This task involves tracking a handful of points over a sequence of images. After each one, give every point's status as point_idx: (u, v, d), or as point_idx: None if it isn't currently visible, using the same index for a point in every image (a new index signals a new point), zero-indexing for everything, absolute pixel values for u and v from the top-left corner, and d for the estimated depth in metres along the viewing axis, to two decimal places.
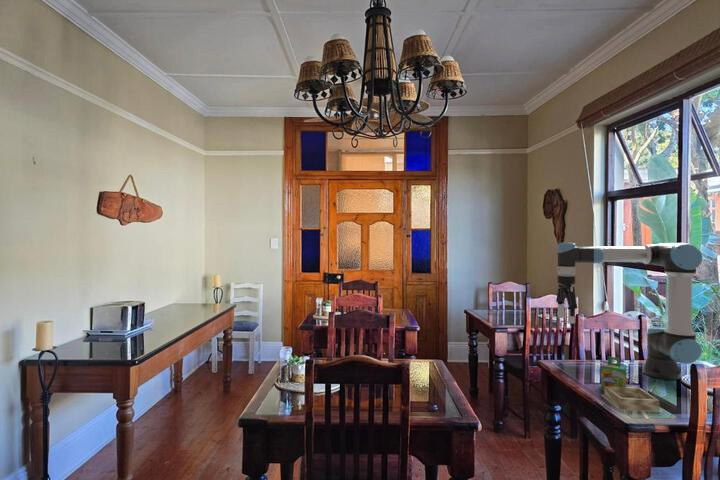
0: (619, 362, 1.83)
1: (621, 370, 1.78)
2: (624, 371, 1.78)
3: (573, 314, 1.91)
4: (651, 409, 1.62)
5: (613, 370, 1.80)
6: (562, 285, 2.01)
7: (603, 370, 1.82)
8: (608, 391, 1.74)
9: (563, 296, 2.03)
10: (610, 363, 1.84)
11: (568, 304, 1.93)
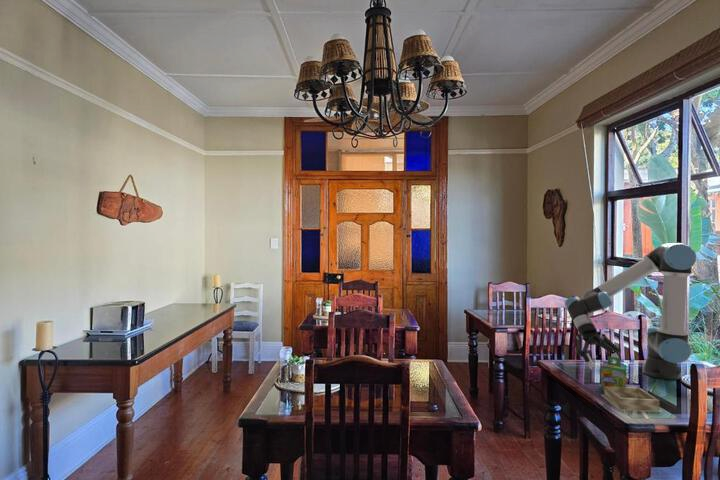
0: (619, 362, 1.83)
1: (621, 370, 1.78)
2: (624, 371, 1.78)
3: (585, 359, 1.88)
4: (651, 409, 1.62)
5: (613, 370, 1.80)
6: None
7: (603, 370, 1.82)
8: (608, 391, 1.74)
9: (603, 345, 1.94)
10: (610, 363, 1.84)
11: None
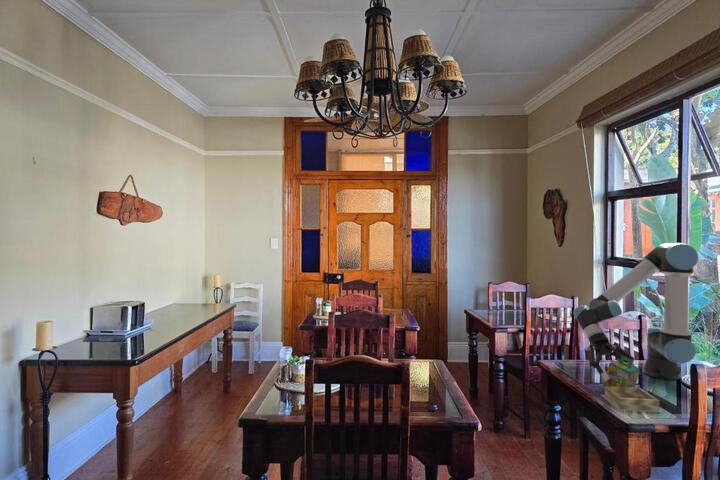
0: (630, 364, 1.80)
1: (626, 371, 1.77)
2: (629, 373, 1.76)
3: (599, 370, 1.83)
4: (651, 409, 1.62)
5: (618, 369, 1.79)
6: None
7: (610, 367, 1.82)
8: (608, 391, 1.74)
9: (616, 355, 1.89)
10: (621, 362, 1.82)
11: None
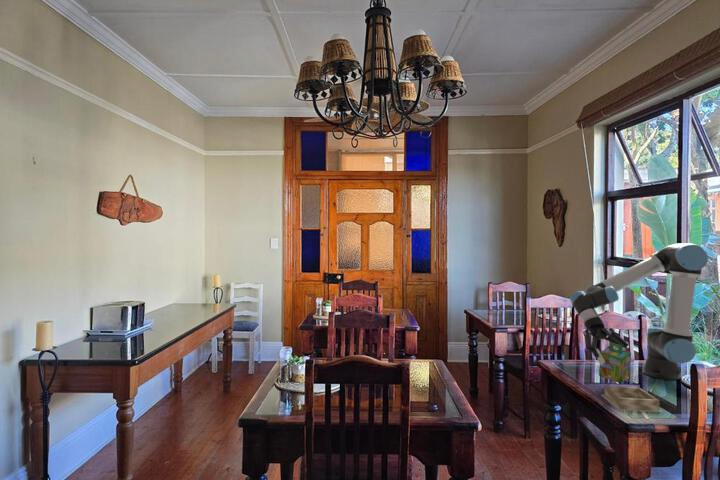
0: (620, 349, 1.80)
1: (618, 358, 1.77)
2: (620, 360, 1.76)
3: (595, 354, 1.83)
4: (651, 409, 1.62)
5: (610, 357, 1.79)
6: None
7: None
8: (608, 391, 1.74)
9: (611, 340, 1.89)
10: (612, 349, 1.83)
11: None
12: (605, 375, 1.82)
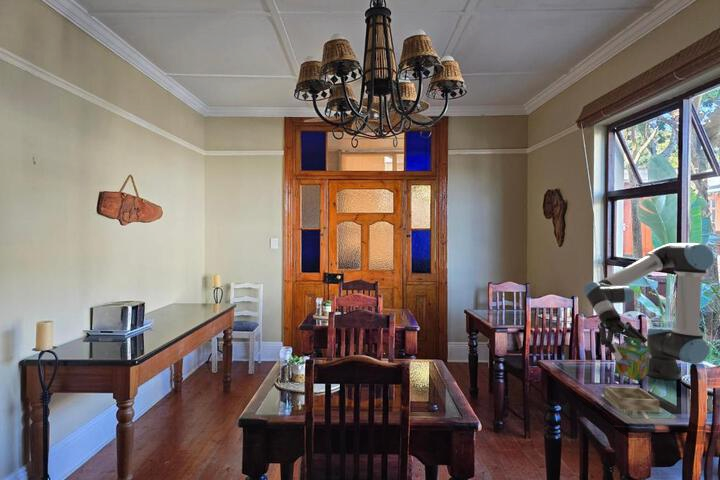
0: (639, 344, 1.66)
1: (636, 354, 1.63)
2: (639, 355, 1.62)
3: (611, 349, 1.69)
4: (651, 409, 1.62)
5: (627, 352, 1.65)
6: None
7: None
8: (608, 391, 1.74)
9: (628, 334, 1.75)
10: (629, 344, 1.69)
11: None
12: (621, 372, 1.68)
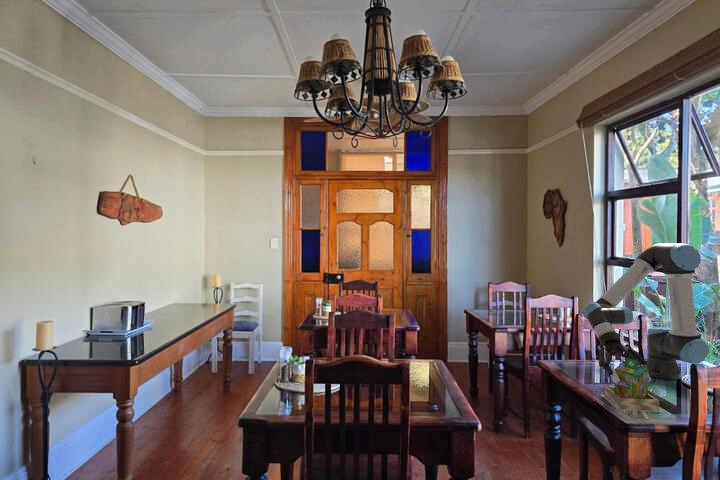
0: (636, 365, 1.66)
1: (634, 376, 1.63)
2: (637, 377, 1.62)
3: (609, 371, 1.69)
4: (651, 409, 1.62)
5: (625, 374, 1.65)
6: None
7: None
8: (608, 391, 1.74)
9: (628, 357, 1.75)
10: (627, 365, 1.69)
11: None
12: (621, 394, 1.69)
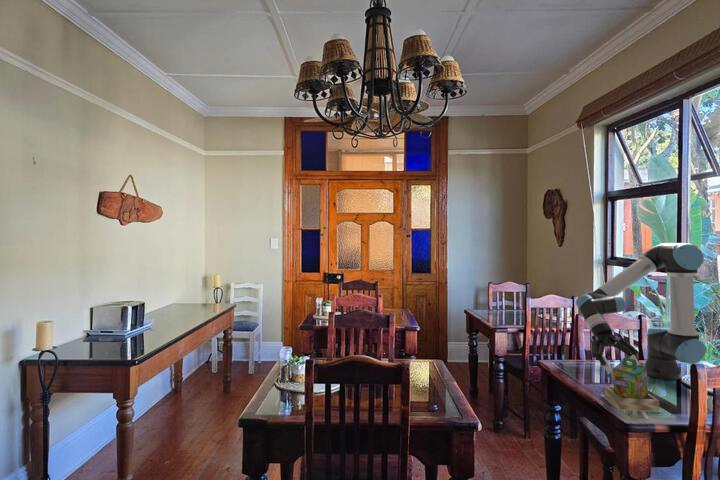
0: (634, 364, 1.67)
1: (632, 374, 1.64)
2: (635, 376, 1.63)
3: (602, 362, 1.73)
4: (651, 409, 1.62)
5: (623, 373, 1.66)
6: None
7: (614, 373, 1.69)
8: (608, 391, 1.74)
9: (620, 347, 1.79)
10: (625, 365, 1.70)
11: None
12: (620, 394, 1.69)
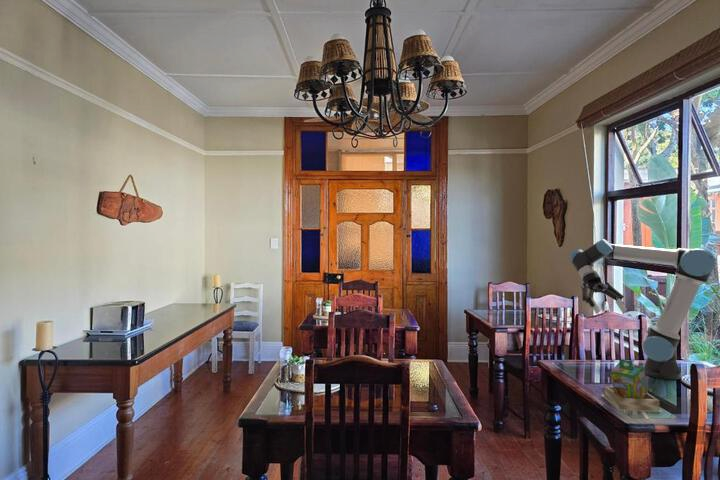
0: (631, 365, 1.67)
1: (629, 376, 1.64)
2: (632, 377, 1.63)
3: (591, 304, 1.97)
4: (651, 409, 1.62)
5: (621, 376, 1.66)
6: None
7: (612, 376, 1.69)
8: (608, 391, 1.74)
9: (607, 293, 2.04)
10: (622, 366, 1.70)
11: None
12: (620, 396, 1.69)
